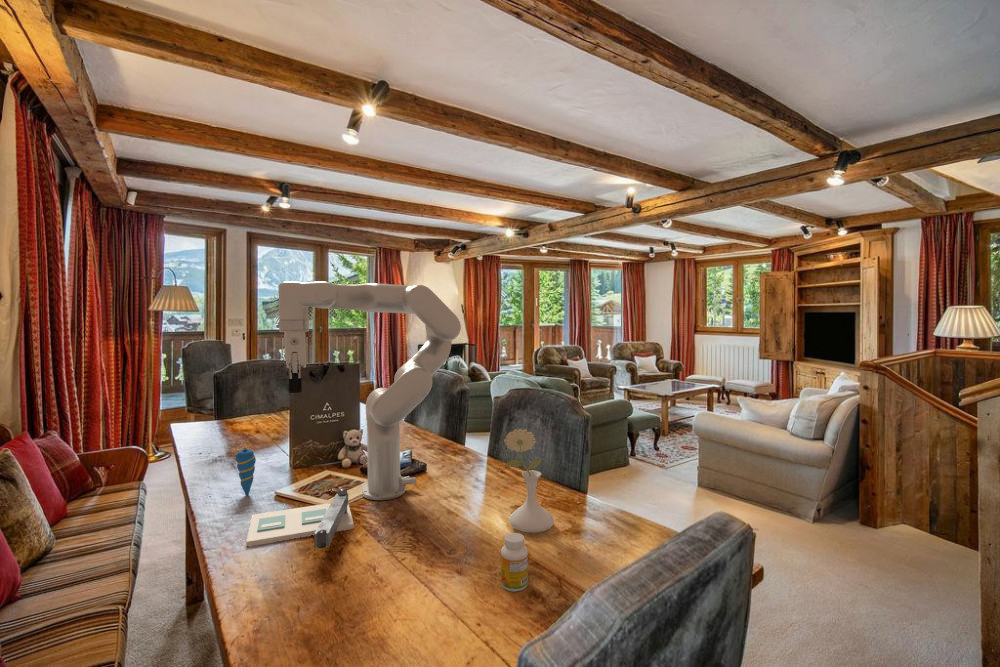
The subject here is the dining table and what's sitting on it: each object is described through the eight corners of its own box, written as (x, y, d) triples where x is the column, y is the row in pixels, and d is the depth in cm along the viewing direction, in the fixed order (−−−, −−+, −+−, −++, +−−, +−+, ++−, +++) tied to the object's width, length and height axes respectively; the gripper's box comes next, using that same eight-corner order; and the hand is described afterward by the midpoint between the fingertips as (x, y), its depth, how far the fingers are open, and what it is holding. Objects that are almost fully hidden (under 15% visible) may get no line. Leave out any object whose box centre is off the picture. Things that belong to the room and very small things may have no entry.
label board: (347, 504, 135) (347, 498, 135) (353, 528, 120) (353, 521, 120) (252, 519, 126) (252, 512, 125) (246, 546, 111) (246, 539, 111)
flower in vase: (558, 520, 125) (558, 426, 124) (548, 540, 114) (548, 437, 113) (510, 513, 129) (510, 422, 128) (496, 532, 118) (496, 432, 117)
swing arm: (337, 510, 128) (337, 488, 127) (349, 509, 128) (348, 487, 128) (314, 557, 103) (313, 530, 103) (328, 556, 104) (327, 529, 103)
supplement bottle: (499, 577, 98) (499, 531, 98) (525, 576, 99) (525, 530, 98) (502, 593, 93) (502, 544, 92) (529, 591, 93) (529, 543, 93)
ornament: (247, 499, 139) (246, 448, 138) (232, 497, 140) (231, 447, 139) (260, 492, 144) (259, 443, 143) (245, 491, 145) (244, 442, 144)
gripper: (309, 327, 127) (310, 395, 127) (308, 325, 140) (309, 387, 141) (278, 327, 124) (279, 397, 125) (280, 325, 137) (281, 389, 138)
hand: (295, 392), depth 133 cm, fingers closed
